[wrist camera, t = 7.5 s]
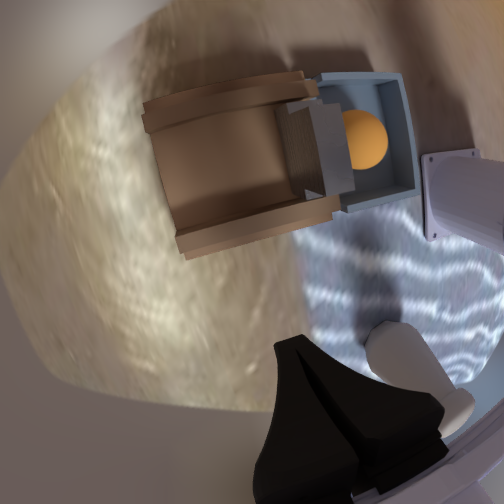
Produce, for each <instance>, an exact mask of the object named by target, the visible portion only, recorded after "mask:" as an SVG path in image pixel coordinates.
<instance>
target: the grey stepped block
mask: <svg viewBox="0 0 504 504" xmlns="http://www.w3.org/2000/svg"><path fill="white" fill-rule="evenodd" d="M274 113H275V118H276V122H277V126H278V131H279V135H280V139H281V144H282V148H283V153H284V158H285V162H286V167H287V172H288V177H289V181H290V186H291V191H292V194H294V195H296V196H298V197H300V198H303V199H305V200H310V199H314V198H318V197H322V196H325V197H328V196H332V195H336V194H341V193H345V192H349V191H354V190H355V183H354V176H353V170H352V164H351V158H350V152H349V146H348V141H347V136H346V130H345V126H344V121H343V116H342V111H341V107H340V103H334V104H324V105H323V102H322V99H316V100H307V101H299V102H291V103H286V104H284V105H282V106H280V107H279V108H277V109H275V110H274Z"/></svg>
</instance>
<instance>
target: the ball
mask: <svg viewBox="0 0 504 504" xmlns="http://www.w3.org/2000/svg"><path fill="white" fill-rule="evenodd" d="M342 116H343V121H344V126H345V130H346V136H347V141H348V146H349V152H350V158H351V164H352V169H360V170H362V169H368V168H371V167H373V166H375V165H376V164H378V163H379V162H380V161H381V160H382V158H383V157H384V155H385V153H386V151H387V146H388V137H387V133H386V130H385V128H384V126H383V124H382V123H381V122H380V120H379V119H378V118H376V117H375V116H374V115H372V114H371V113H369V112H366V111H363V110H348V111H345V112H343V113H342Z"/></svg>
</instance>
